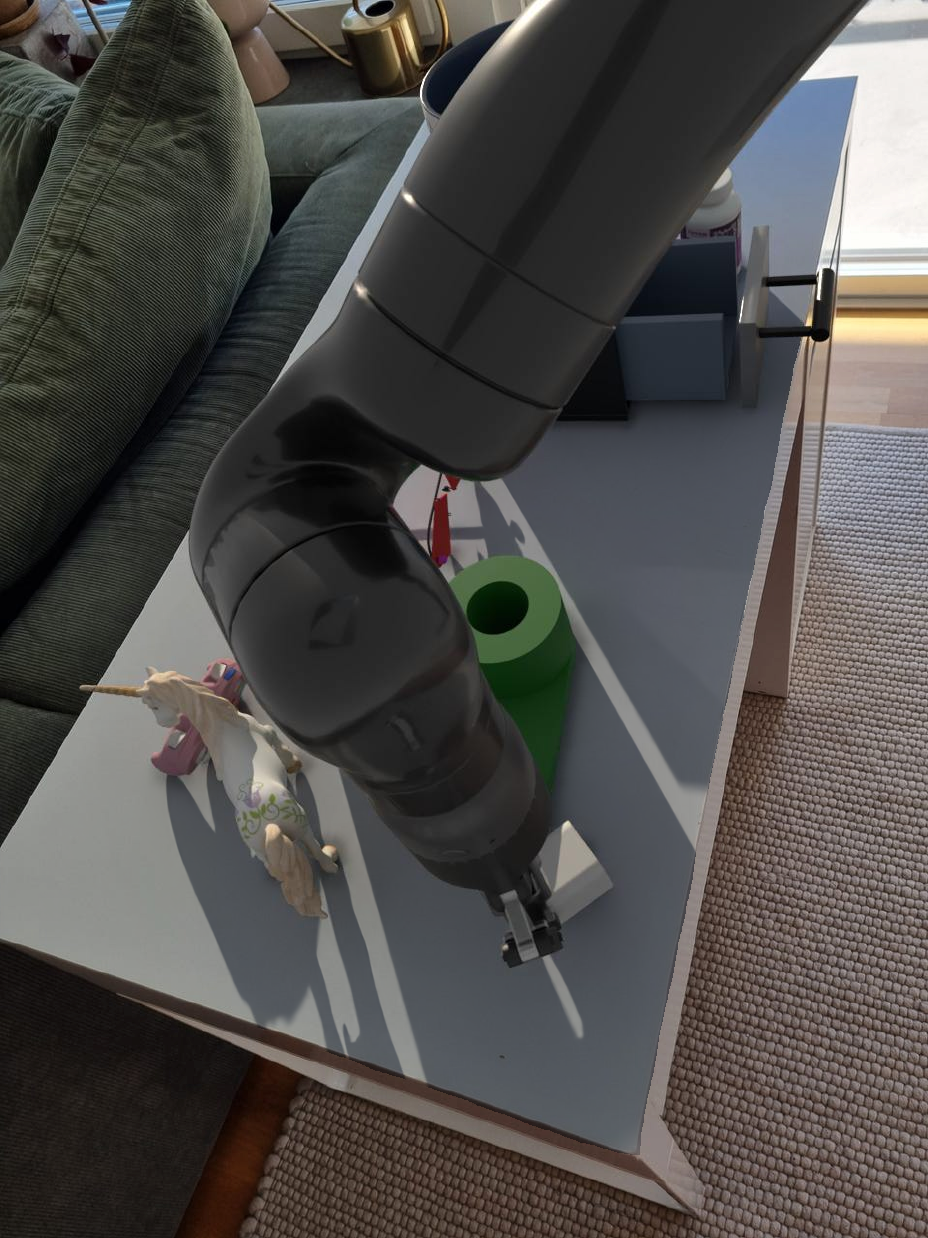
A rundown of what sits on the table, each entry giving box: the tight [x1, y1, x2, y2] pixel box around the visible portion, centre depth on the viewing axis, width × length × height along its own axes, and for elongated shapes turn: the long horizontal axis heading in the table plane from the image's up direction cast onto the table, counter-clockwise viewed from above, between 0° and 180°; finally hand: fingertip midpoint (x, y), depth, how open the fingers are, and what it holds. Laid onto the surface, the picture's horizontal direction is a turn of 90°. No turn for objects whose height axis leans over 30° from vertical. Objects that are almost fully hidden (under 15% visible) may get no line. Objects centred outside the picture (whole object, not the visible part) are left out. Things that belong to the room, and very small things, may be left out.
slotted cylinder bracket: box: [448, 554, 577, 799], centre depth 66 cm, size 18×9×6 cm, turn 167°
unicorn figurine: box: [79, 665, 339, 920], centre depth 63 cm, size 7×20×13 cm, turn 45°
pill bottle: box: [679, 167, 743, 275], centre depth 84 cm, size 5×5×10 cm
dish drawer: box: [615, 225, 836, 409], centre depth 77 cm, size 19×11×9 cm, turn 75°
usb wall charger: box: [506, 820, 614, 933], centre depth 58 cm, size 4×7×4 cm, turn 121°
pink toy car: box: [150, 657, 247, 777], centre depth 72 cm, size 10×5×7 cm, turn 155°
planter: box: [419, 18, 516, 135], centre depth 92 cm, size 18×18×16 cm
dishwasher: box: [555, 331, 633, 422], centre depth 82 cm, size 15×13×11 cm
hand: (531, 891), depth 58 cm, fingers closed on usb wall charger, 4 cm apart
